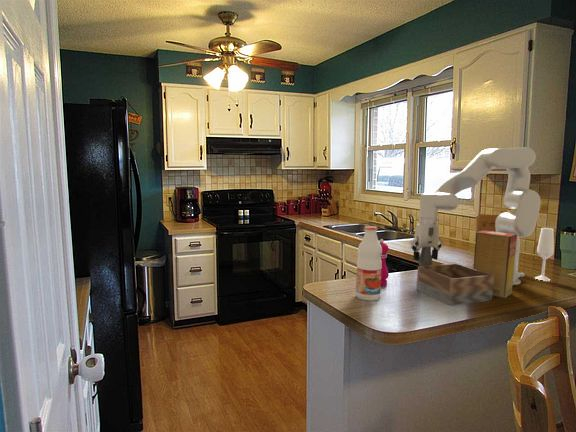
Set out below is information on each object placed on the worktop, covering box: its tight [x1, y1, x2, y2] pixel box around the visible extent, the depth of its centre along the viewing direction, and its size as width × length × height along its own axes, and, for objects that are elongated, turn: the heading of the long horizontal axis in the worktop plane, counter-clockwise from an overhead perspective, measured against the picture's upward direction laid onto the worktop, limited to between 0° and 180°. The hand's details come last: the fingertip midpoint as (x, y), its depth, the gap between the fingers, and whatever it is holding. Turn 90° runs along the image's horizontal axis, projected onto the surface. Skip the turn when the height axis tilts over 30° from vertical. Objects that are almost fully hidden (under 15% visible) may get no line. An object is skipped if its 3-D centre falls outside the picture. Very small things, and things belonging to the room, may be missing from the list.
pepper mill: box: [379, 238, 390, 287], centre depth 173 cm, size 7×7×20 cm
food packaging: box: [472, 230, 517, 299], centre depth 164 cm, size 13×9×25 cm
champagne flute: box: [534, 227, 555, 282], centre depth 186 cm, size 7×7×24 cm
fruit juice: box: [355, 225, 382, 302], centre depth 155 cm, size 9×9×28 cm
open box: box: [416, 262, 494, 306], centre depth 161 cm, size 20×20×10 cm
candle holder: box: [417, 228, 434, 266], centre depth 177 cm, size 6×6×25 cm
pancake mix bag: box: [475, 213, 500, 235], centre depth 205 cm, size 7×19×28 cm, turn 55°
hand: (425, 259), depth 177 cm, fingers open, 9 cm apart
